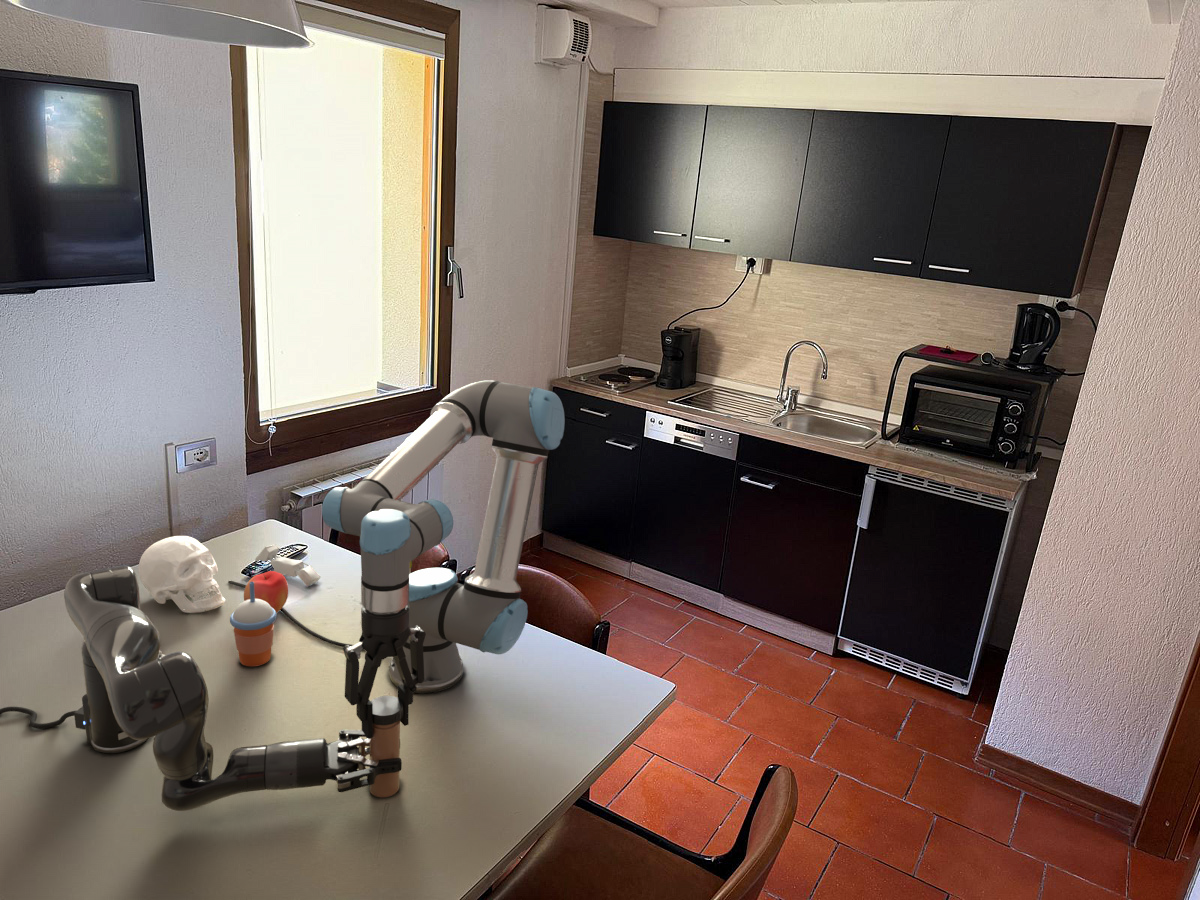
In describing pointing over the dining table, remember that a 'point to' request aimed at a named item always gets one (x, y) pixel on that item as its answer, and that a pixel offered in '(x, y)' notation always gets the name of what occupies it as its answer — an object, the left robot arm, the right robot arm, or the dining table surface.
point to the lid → (387, 710)
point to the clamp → (288, 565)
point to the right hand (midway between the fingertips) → (385, 727)
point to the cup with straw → (253, 630)
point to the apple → (269, 589)
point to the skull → (181, 574)
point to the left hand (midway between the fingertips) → (400, 753)
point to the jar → (385, 757)
